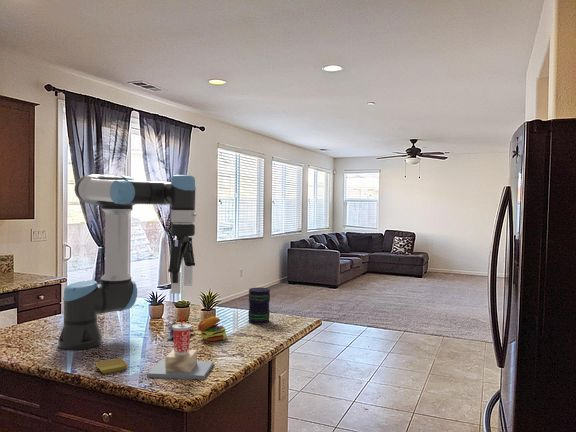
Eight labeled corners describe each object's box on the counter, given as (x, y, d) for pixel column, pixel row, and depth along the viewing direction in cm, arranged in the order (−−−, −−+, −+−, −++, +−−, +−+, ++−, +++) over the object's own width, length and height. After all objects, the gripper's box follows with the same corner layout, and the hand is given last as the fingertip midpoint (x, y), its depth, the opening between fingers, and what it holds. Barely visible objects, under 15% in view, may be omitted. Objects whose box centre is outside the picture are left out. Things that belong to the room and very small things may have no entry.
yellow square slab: (128, 371, 151) (128, 365, 151) (100, 376, 146) (100, 370, 146) (121, 363, 158) (121, 357, 158) (94, 368, 153) (94, 362, 153)
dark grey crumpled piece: (156, 336, 191) (171, 342, 182) (159, 320, 191) (174, 325, 182) (183, 336, 199) (198, 342, 190) (185, 320, 200) (200, 325, 191)
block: (165, 371, 148) (165, 357, 147) (173, 362, 156) (173, 349, 155) (190, 372, 147) (190, 357, 147) (196, 363, 155) (197, 349, 155)
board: (146, 377, 145) (147, 373, 145) (160, 362, 158) (160, 359, 158) (204, 379, 144) (204, 375, 144) (213, 364, 157) (213, 361, 157)
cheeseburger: (222, 343, 181) (216, 318, 182) (197, 347, 184) (191, 322, 184) (230, 335, 191) (225, 311, 191) (206, 340, 194) (201, 316, 194)
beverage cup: (173, 357, 147) (174, 313, 147) (170, 351, 153) (170, 309, 152) (193, 355, 150) (193, 311, 149) (189, 349, 155) (189, 307, 155)
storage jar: (245, 320, 218) (245, 288, 218) (264, 318, 222) (265, 286, 222) (252, 325, 209) (253, 292, 209) (272, 323, 213) (273, 290, 213)
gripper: (183, 225, 137) (182, 297, 138) (203, 222, 162) (203, 282, 163) (158, 225, 138) (157, 296, 138) (182, 221, 163) (181, 282, 163)
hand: (182, 289), depth 151 cm, fingers open, 13 cm apart
